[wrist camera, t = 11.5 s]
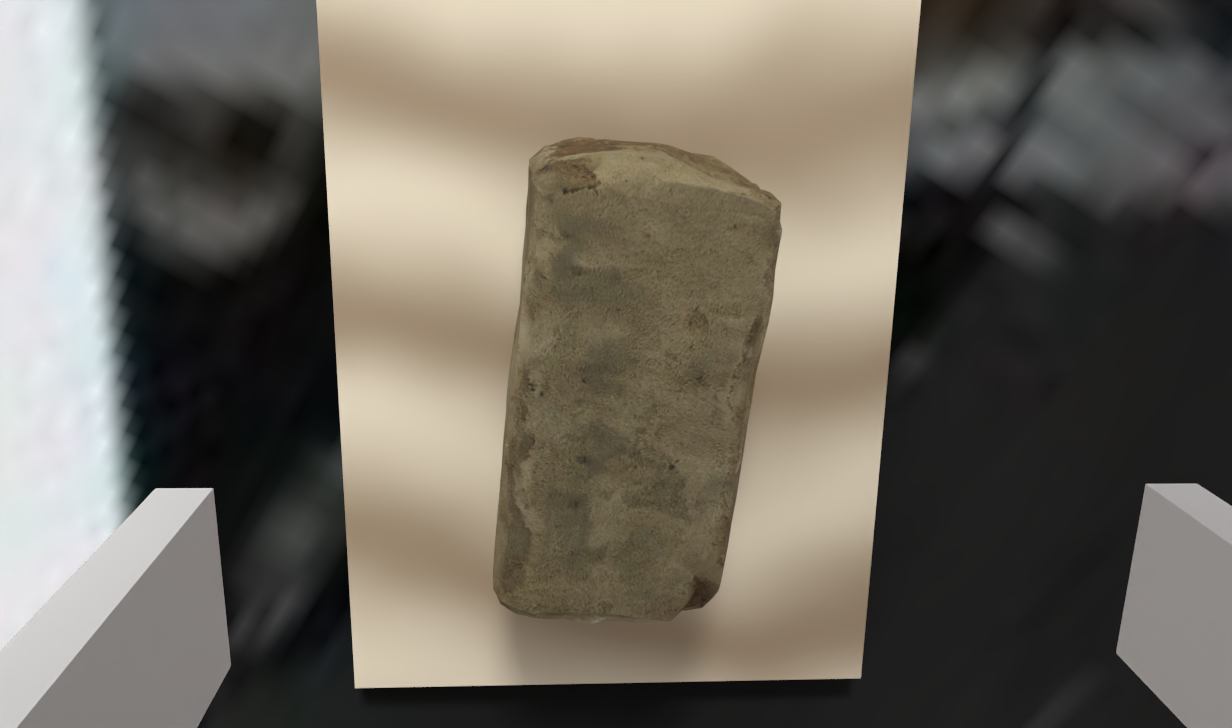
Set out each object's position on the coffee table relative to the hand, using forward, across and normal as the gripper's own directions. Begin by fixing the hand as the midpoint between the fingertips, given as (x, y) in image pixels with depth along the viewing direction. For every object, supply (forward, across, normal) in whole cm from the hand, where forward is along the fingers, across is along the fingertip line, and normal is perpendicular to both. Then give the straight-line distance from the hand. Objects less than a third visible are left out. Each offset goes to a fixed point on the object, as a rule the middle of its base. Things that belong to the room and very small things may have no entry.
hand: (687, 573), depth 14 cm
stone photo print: (+15, 0, -1) cm, 15 cm away
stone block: (+14, 0, -1) cm, 14 cm away
